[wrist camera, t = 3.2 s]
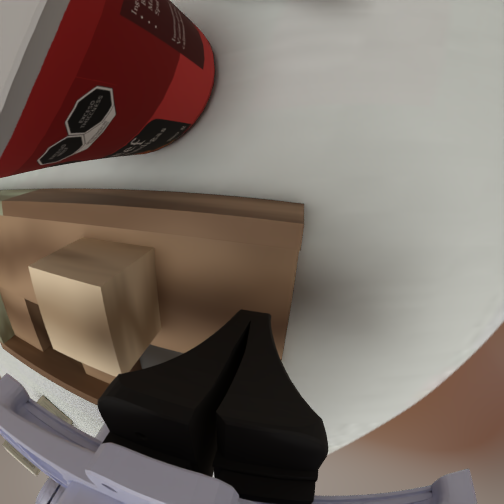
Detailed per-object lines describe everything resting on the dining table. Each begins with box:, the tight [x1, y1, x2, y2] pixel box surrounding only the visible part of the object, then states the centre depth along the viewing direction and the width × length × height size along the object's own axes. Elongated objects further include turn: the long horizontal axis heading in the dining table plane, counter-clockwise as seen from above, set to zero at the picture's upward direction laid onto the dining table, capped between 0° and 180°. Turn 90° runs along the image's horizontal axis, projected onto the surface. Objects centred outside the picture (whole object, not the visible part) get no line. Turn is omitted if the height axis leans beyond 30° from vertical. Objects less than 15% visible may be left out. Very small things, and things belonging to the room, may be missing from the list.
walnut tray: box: [0, 189, 304, 405], centre depth 16 cm, size 16×28×4 cm, turn 86°
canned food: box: [0, 0, 215, 178], centre depth 8 cm, size 8×8×11 cm
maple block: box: [28, 237, 161, 377], centre depth 13 cm, size 5×5×4 cm
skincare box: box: [2, 396, 72, 476], centre depth 24 cm, size 6×4×12 cm
